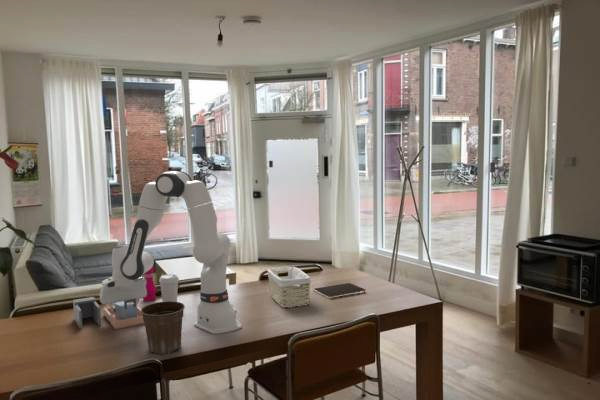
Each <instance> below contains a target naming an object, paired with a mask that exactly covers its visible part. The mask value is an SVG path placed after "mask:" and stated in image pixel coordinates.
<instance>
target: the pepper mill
mask: <svg viewBox="0 0 600 400" xmlns="http://www.w3.org/2000/svg"><path fill="white" fill-rule="evenodd" d="M154 272H155V267H154V265H153V267H152V268H151V269H150V270H149V271H147V272H146V273H144V274H143V275H142V277H143V278H145V279H146V290H147V295H146V297H142V300H143V301H145V302H150V301H155V300H156V299H157V298H156V297H157V296H156V294H157V287H156V285H155V282H154V275H155V274H154Z"/></svg>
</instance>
